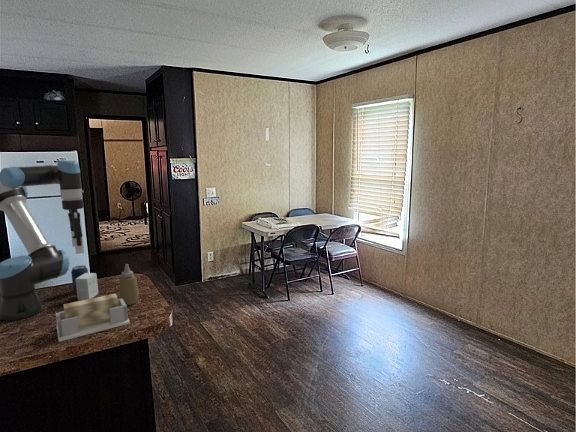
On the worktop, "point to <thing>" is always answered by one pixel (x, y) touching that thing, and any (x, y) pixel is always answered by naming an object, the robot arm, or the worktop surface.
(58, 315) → the bracket board
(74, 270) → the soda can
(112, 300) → the rail
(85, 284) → the small box
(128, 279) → the squeeze bottle
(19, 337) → the worktop surface
